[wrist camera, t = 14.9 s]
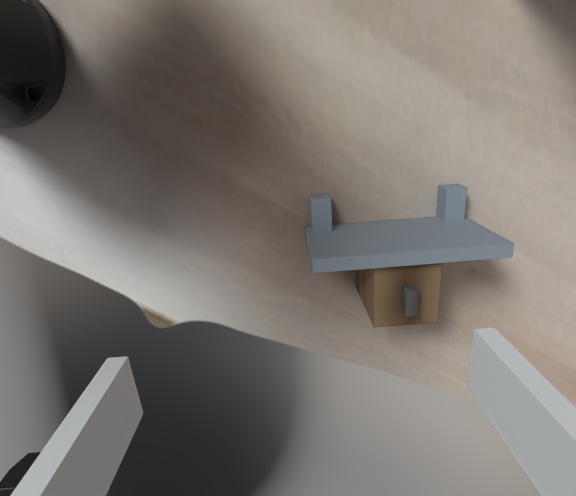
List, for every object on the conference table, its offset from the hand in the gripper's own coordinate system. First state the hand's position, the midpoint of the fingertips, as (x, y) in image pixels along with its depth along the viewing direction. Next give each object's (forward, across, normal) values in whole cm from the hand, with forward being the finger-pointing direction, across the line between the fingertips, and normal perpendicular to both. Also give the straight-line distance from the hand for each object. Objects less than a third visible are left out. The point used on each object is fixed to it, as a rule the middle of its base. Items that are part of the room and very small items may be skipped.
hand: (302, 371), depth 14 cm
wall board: (+33, +12, -3) cm, 35 cm away
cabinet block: (+33, +12, -10) cm, 36 cm away
